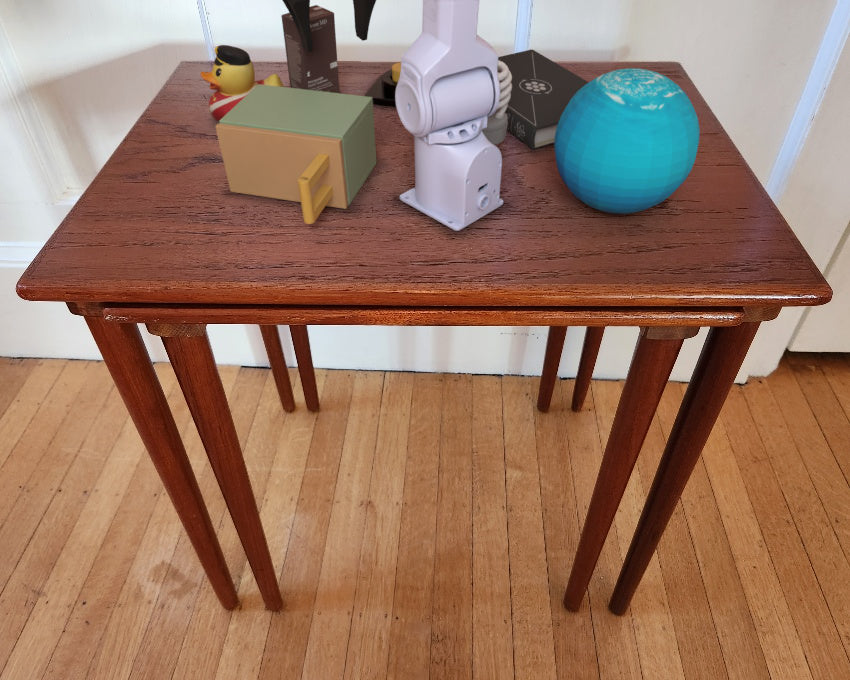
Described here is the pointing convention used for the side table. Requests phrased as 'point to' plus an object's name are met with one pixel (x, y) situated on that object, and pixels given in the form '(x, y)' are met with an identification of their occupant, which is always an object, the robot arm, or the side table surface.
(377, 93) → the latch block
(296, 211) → the side table surface
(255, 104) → the cupboard
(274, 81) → the toy
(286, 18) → the box
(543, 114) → the book
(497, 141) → the light bulb
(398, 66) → the button
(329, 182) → the cupboard door
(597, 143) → the decorative orb
